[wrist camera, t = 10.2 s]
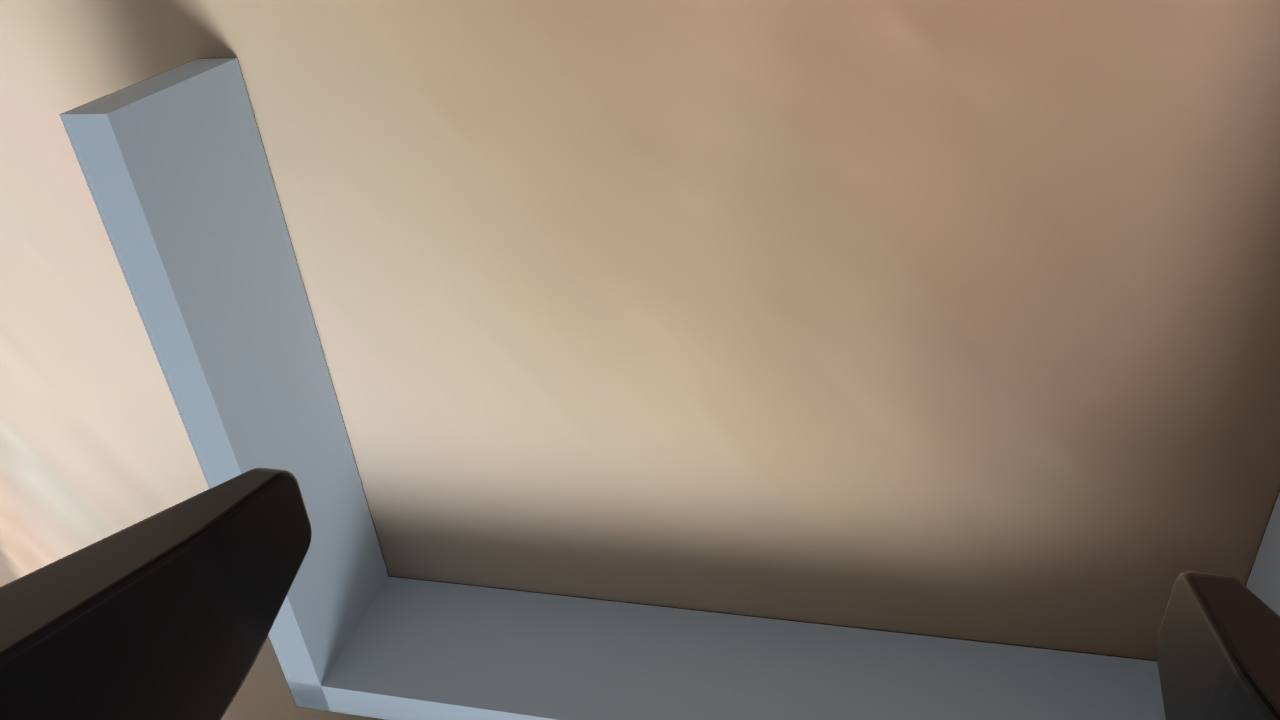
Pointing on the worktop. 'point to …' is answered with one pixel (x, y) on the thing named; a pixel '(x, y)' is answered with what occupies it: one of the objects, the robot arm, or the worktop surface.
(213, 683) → the robot arm
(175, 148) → the open box
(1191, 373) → the worktop surface
